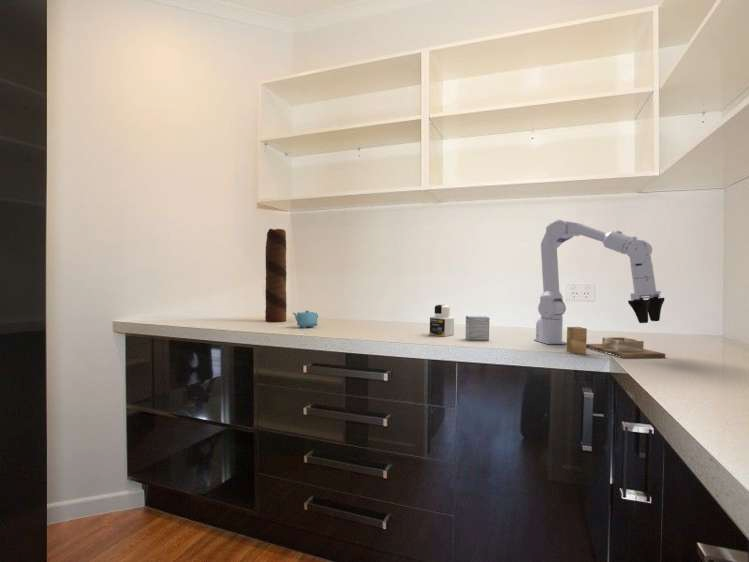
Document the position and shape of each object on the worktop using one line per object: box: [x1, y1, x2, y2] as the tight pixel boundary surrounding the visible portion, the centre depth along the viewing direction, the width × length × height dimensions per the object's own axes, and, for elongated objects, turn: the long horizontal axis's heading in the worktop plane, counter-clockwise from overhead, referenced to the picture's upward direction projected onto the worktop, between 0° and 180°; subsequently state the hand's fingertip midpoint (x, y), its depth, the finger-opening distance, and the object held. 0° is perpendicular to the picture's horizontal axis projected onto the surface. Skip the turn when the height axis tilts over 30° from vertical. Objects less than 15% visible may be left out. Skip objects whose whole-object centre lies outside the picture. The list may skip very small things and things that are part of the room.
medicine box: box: [465, 315, 490, 341], centre depth 152 cm, size 8×4×9 cm, turn 92°
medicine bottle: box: [429, 304, 455, 338], centre depth 163 cm, size 7×7×12 cm
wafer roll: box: [264, 228, 287, 323], centre depth 199 cm, size 10×11×45 cm
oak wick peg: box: [566, 326, 588, 355], centre depth 128 cm, size 4×4×8 cm
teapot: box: [292, 310, 319, 329], centre depth 178 cm, size 12×6×8 cm, turn 118°
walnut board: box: [586, 336, 666, 359], centre depth 130 cm, size 18×14×4 cm
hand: (649, 322), depth 125 cm, fingers open, 7 cm apart
